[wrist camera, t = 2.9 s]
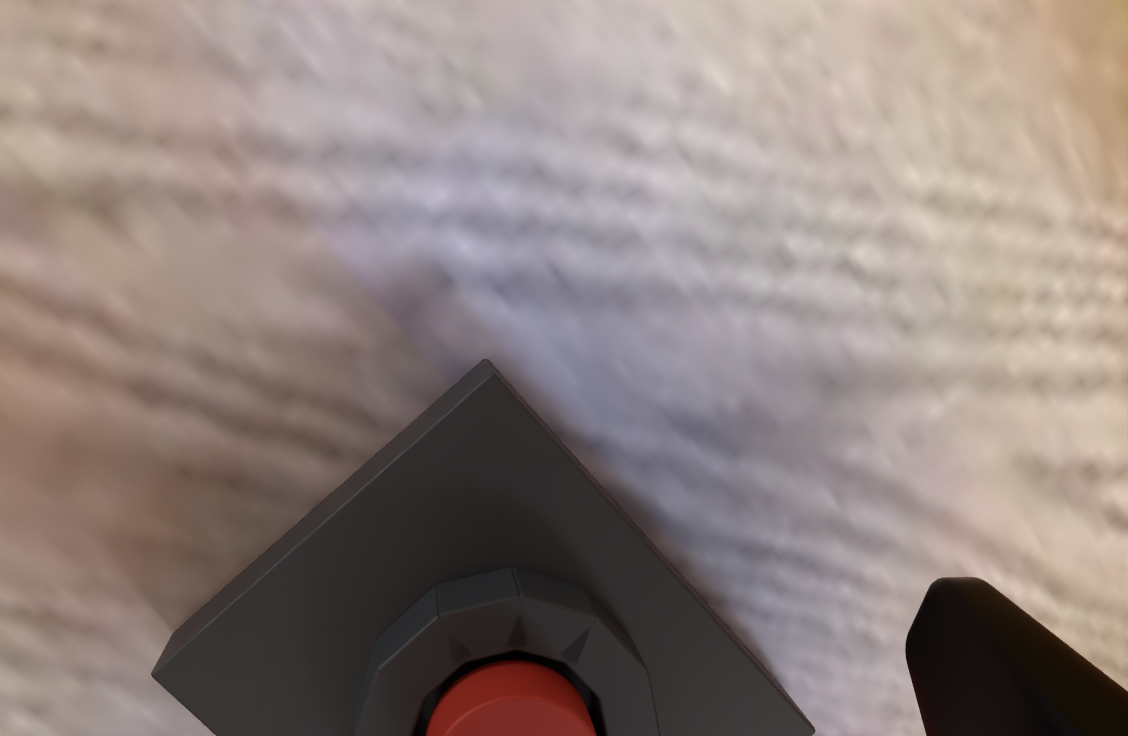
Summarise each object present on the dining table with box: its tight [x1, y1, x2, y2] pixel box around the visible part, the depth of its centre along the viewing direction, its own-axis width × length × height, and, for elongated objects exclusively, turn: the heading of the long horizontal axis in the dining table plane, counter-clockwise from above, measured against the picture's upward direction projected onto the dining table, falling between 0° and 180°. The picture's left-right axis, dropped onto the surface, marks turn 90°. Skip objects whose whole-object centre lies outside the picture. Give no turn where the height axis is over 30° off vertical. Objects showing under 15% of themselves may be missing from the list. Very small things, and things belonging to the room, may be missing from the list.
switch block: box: [151, 359, 815, 736], centre depth 24 cm, size 12×10×4 cm
